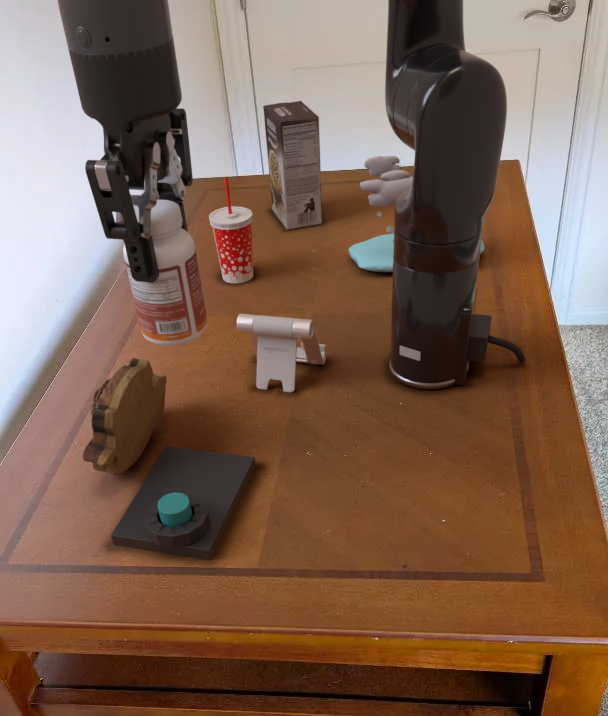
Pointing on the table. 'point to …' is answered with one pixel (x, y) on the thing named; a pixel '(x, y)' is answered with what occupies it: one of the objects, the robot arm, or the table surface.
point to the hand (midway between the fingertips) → (162, 261)
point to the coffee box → (294, 163)
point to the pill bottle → (170, 282)
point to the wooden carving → (125, 416)
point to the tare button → (174, 509)
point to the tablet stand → (281, 347)
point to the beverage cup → (233, 240)
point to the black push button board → (207, 499)
